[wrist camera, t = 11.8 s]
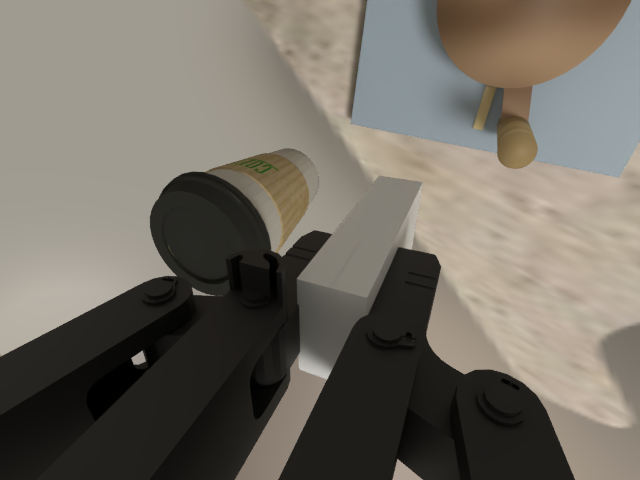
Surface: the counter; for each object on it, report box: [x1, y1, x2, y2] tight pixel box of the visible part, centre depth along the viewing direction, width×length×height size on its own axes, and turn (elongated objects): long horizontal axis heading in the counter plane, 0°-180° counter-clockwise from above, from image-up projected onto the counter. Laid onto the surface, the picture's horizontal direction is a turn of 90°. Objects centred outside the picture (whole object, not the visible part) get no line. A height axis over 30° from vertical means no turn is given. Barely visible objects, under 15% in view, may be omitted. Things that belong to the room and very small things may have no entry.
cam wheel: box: [437, 0, 631, 169], centre depth 21 cm, size 14×10×7 cm
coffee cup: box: [150, 149, 319, 296], centre depth 32 cm, size 10×10×15 cm
